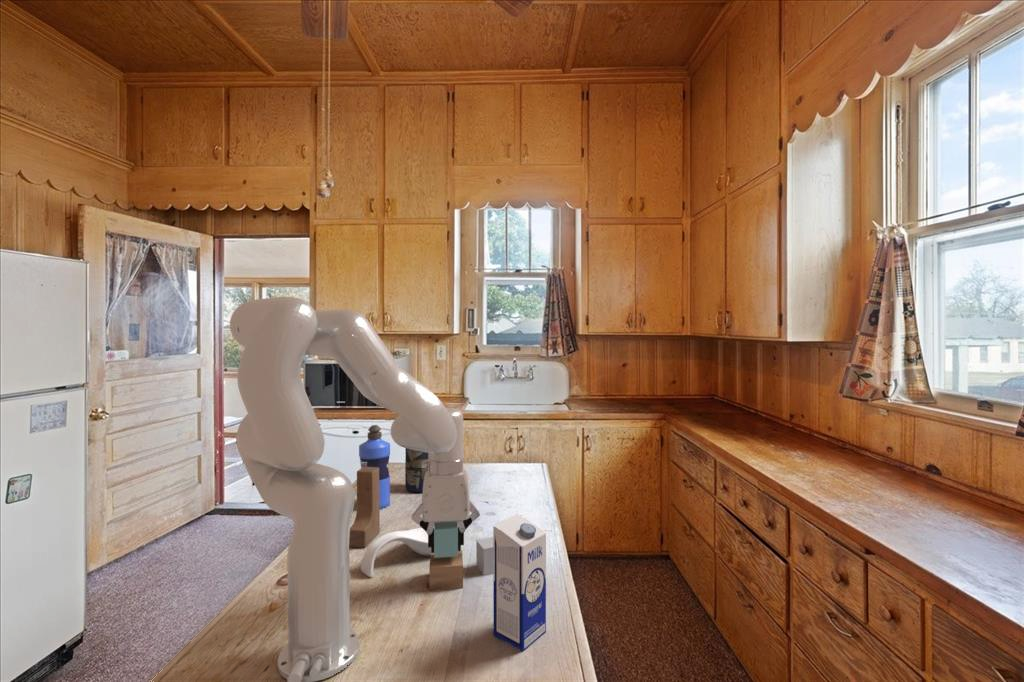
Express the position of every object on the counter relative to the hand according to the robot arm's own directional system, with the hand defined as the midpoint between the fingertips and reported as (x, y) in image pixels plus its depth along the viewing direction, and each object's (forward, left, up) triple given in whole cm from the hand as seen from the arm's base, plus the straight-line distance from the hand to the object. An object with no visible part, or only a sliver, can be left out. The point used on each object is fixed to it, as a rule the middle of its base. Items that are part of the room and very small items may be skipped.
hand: (446, 548), depth 102 cm
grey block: (+4, -10, -7) cm, 13 cm away
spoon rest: (+12, +8, -8) cm, 17 cm away
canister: (+61, +9, -7) cm, 62 cm away
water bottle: (+48, +22, -7) cm, 53 cm away
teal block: (0, 0, -1) cm, 1 cm away
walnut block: (0, 0, -7) cm, 7 cm away
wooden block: (+23, +21, -7) cm, 32 cm away
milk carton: (-20, -13, -7) cm, 25 cm away
